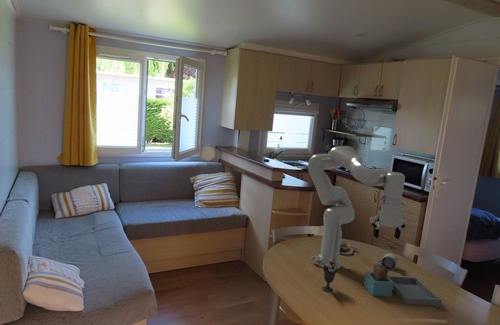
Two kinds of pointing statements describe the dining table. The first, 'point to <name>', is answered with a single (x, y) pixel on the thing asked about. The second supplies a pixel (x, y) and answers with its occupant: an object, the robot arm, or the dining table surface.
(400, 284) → the tray
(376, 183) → the robot arm
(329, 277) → the sundae
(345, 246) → the salad plate
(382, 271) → the peg
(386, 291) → the teal open box
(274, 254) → the dining table surface
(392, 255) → the ceramic mug
